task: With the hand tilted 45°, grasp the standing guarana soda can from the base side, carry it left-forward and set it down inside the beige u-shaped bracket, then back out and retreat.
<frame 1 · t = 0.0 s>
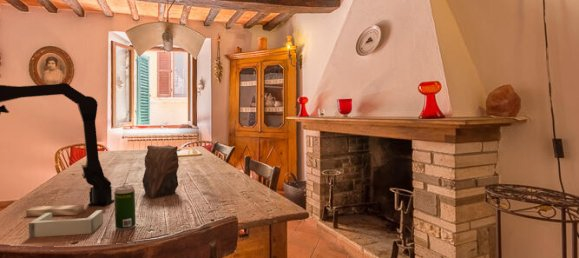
brown paper bag: (158, 195, 135), on the table
guarana soda can: (125, 228, 98), on the table
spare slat: (56, 213, 111), on the table
beige u-shaped bracket: (69, 228, 97), on the table
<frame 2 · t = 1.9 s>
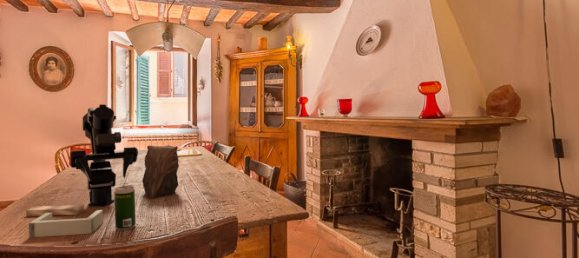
hand: (108, 178, 101), 14 cm above the table, tool tilted 45°, fingers open, 9 cm apart
nothing on the table moved.
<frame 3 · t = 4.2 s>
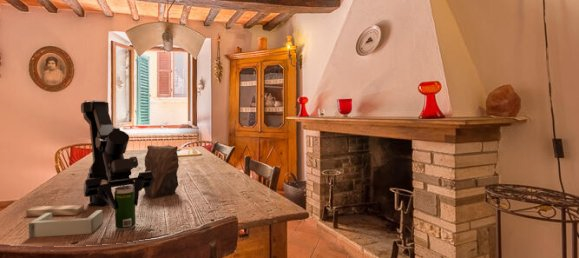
hand: (126, 206, 96), 7 cm above the table, tool tilted 45°, fingers closed on guarana soda can, 5 cm apart
guarana soda can: (125, 228, 98), on the table, touching gripper
everything else where it was.
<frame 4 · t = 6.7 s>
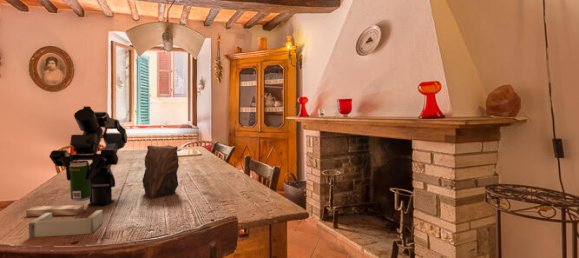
hand: (78, 179, 102), 13 cm above the table, tool tilted 45°, fingers closed on guarana soda can, 5 cm apart
guarana soda can: (81, 199, 104), point 6 cm above the table, touching gripper
everything else where it was.
when the fingers open (7 cm above the table, at t = 9.0 s): guarana soda can stays where it is, on the table.
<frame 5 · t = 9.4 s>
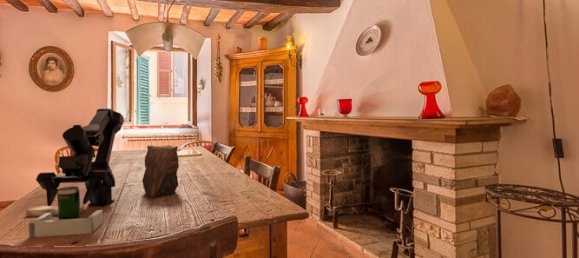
hand: (66, 204, 95), 8 cm above the table, tool tilted 45°, fingers open, 9 cm apart
guarana soda can: (70, 229, 97), on the table
everything else where it was.
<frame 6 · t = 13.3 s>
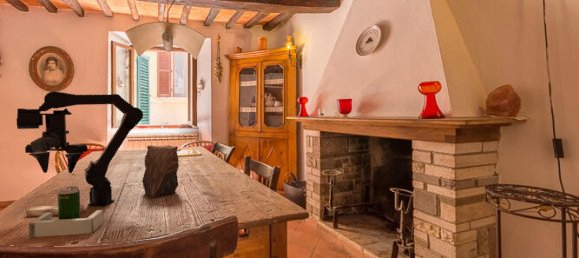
hand: (57, 172, 114), 13 cm above the table, tool pointing down, fingers open, 9 cm apart
nothing on the table moved.
at the end: guarana soda can inside the target area on the beige u-shaped bracket (0.2 cm from its centre), point 0.0 cm above the beige u-shaped bracket's base; guarana soda can tilted 0°; the gripper is holding nothing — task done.
